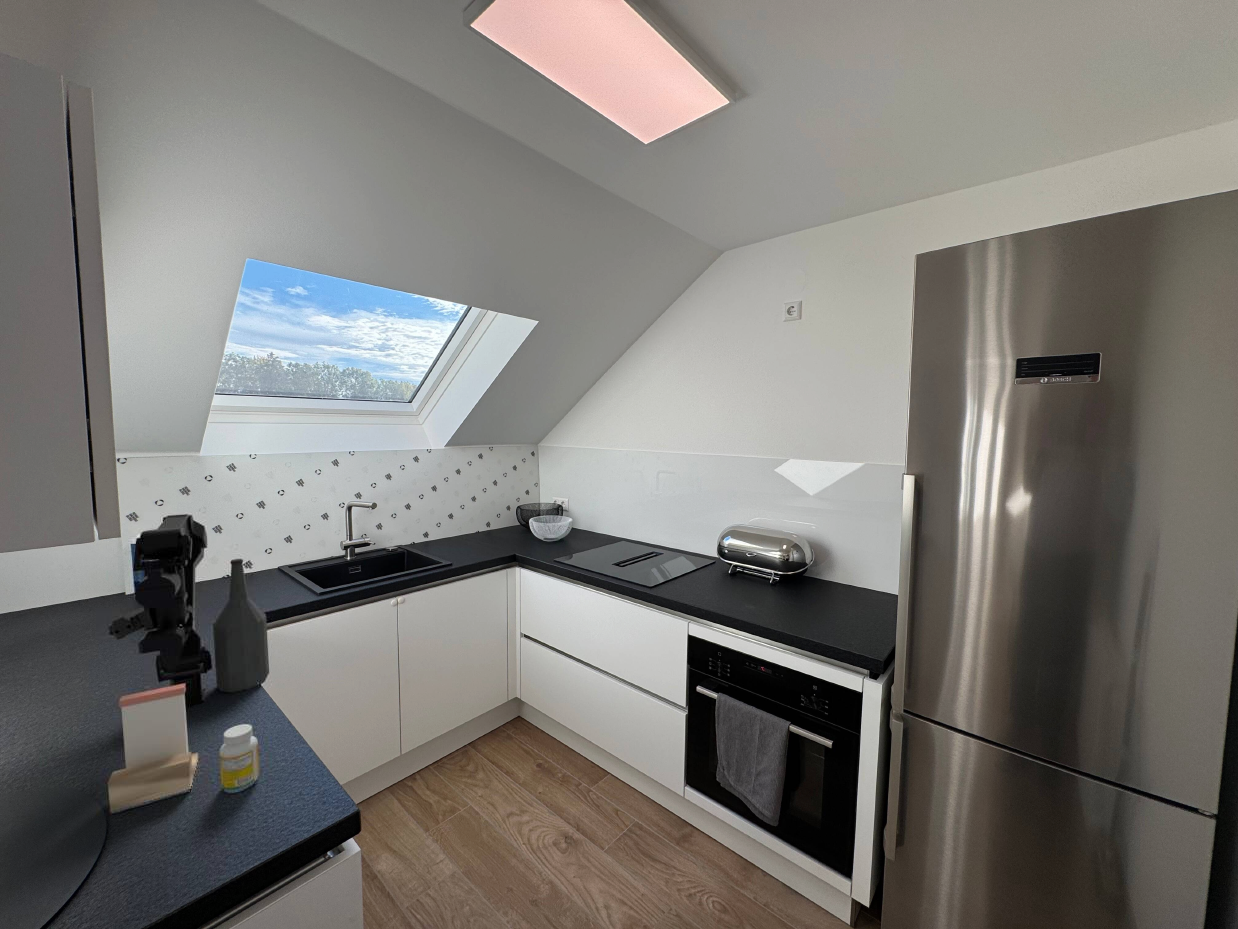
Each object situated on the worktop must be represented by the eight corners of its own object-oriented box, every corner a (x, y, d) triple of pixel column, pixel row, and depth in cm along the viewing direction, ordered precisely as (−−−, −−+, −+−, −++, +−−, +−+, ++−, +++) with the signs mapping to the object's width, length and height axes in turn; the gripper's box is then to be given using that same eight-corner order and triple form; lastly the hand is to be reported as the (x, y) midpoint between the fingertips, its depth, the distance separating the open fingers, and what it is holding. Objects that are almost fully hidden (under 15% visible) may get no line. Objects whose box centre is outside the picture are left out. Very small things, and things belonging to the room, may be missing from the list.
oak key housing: (126, 779, 93) (123, 749, 93) (198, 760, 98) (196, 731, 98) (110, 815, 85) (107, 782, 84) (190, 792, 90) (188, 760, 89)
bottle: (228, 697, 121) (221, 567, 118) (209, 686, 126) (201, 561, 123) (277, 679, 129) (271, 557, 127) (257, 669, 134) (250, 552, 132)
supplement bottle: (245, 795, 89) (242, 740, 88) (213, 794, 89) (209, 740, 88) (266, 773, 95) (263, 721, 94) (236, 773, 95) (233, 721, 94)
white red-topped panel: (127, 776, 91) (121, 696, 90) (190, 759, 96) (185, 683, 94) (125, 782, 90) (118, 701, 89) (189, 765, 94) (183, 687, 93)
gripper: (123, 587, 109) (129, 661, 110) (96, 615, 93) (103, 701, 94) (193, 578, 115) (197, 648, 116) (179, 603, 99) (184, 684, 100)
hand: (172, 669), depth 106 cm, fingers closed
